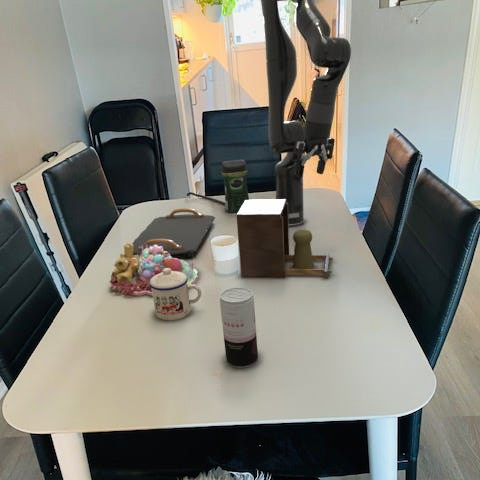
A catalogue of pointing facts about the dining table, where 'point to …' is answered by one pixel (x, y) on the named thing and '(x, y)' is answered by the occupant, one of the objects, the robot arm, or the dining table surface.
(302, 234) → the olive peg doll
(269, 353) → the dining table surface
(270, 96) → the robot arm
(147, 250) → the pastel sphere sculpture
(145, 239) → the serving tray
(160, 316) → the teacup with lid
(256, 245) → the cabinet
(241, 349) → the beverage can
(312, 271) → the drawer
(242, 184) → the coffee jar
